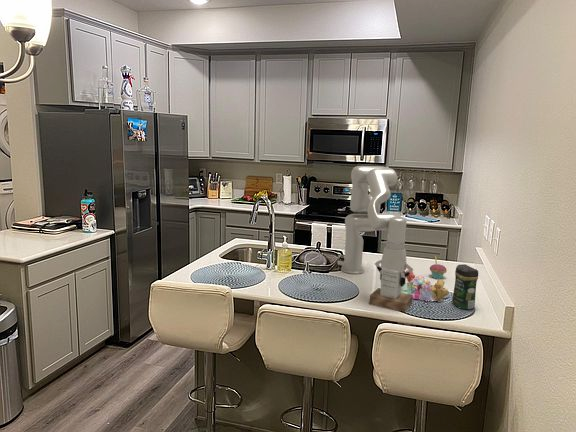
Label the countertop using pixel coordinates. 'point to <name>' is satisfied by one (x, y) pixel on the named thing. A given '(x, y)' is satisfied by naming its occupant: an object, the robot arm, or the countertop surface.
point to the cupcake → (437, 270)
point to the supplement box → (390, 283)
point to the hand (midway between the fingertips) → (392, 283)
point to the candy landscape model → (424, 288)
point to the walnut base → (391, 301)
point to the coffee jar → (465, 287)
